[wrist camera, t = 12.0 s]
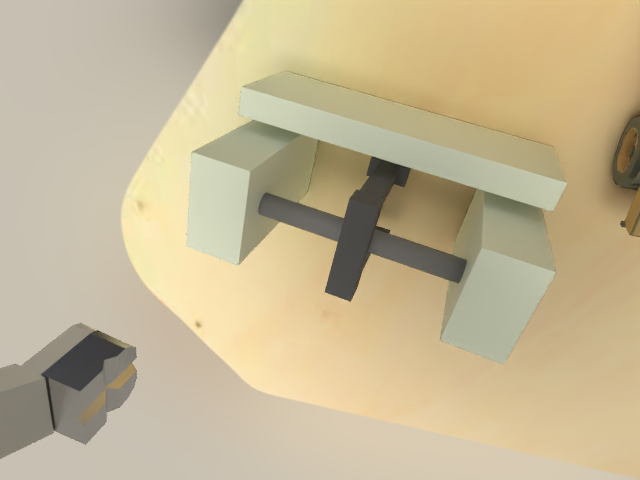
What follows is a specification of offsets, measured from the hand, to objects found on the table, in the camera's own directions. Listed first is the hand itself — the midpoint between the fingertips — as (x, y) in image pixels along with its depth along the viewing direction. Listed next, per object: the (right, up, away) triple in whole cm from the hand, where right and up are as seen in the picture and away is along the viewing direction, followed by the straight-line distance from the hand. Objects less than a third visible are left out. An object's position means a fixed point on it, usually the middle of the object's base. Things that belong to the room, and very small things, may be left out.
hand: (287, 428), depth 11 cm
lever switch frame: (+7, +11, +29) cm, 31 cm away
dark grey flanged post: (+5, +7, +26) cm, 28 cm away
